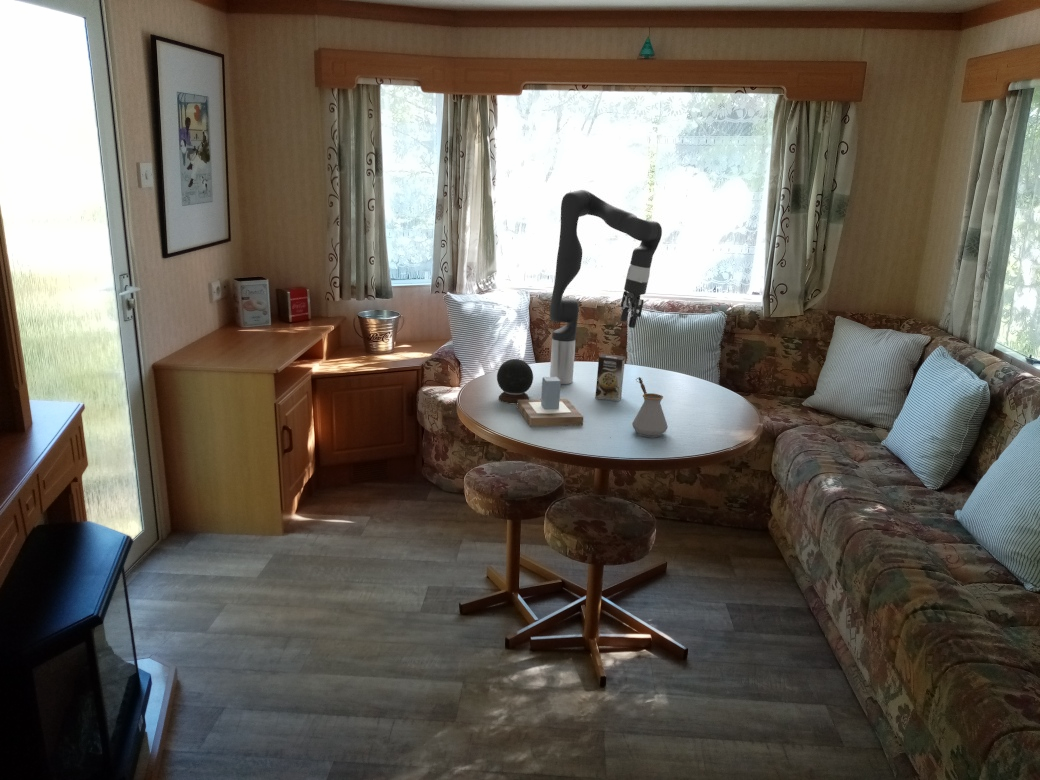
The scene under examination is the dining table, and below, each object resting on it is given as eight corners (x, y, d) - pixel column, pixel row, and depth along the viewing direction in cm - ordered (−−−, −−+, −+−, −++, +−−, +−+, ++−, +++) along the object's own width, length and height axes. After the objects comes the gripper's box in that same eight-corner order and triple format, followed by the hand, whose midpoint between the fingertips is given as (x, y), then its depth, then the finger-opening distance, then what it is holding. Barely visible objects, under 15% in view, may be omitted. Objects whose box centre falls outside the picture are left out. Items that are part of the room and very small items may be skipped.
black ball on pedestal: (495, 403, 277) (496, 363, 272) (496, 393, 289) (498, 354, 285) (531, 405, 277) (534, 365, 272) (532, 394, 289) (534, 355, 285)
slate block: (541, 404, 267) (542, 377, 264) (555, 404, 268) (556, 376, 265) (544, 409, 262) (546, 381, 260) (558, 409, 264) (560, 380, 261)
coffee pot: (671, 439, 250) (676, 395, 245) (637, 439, 248) (641, 395, 243) (651, 418, 270) (655, 376, 265) (619, 418, 268) (622, 376, 264)
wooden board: (517, 407, 274) (517, 398, 273) (566, 406, 278) (566, 397, 277) (530, 426, 255) (531, 417, 254) (582, 425, 259) (583, 415, 258)
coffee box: (594, 398, 288) (597, 356, 284) (598, 394, 294) (601, 352, 290) (618, 401, 286) (622, 359, 281) (621, 397, 292) (625, 355, 287)
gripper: (620, 273, 272) (611, 318, 277) (634, 281, 259) (624, 328, 264) (640, 276, 274) (630, 320, 279) (655, 284, 261) (644, 330, 266)
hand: (627, 324), depth 272 cm, fingers open, 8 cm apart
